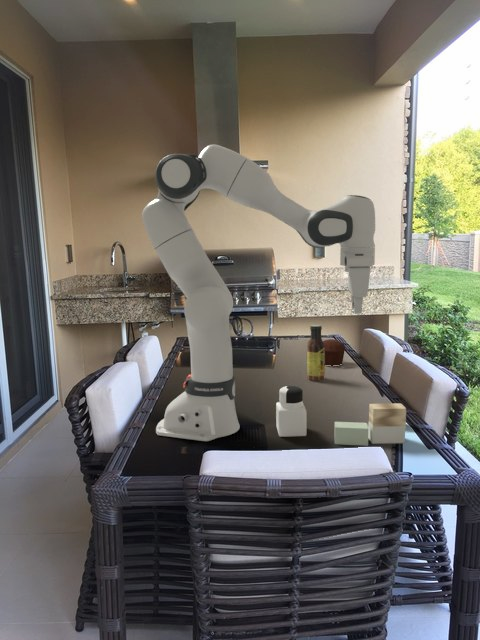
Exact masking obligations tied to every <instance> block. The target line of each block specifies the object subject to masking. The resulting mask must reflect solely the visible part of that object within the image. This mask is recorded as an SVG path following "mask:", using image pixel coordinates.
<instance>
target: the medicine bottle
mask: <svg viewBox="0 0 480 640" xmlns="http://www.w3.org/2000/svg"><path fill="white" fill-rule="evenodd" d="M278 395H279V399H278V400H279V401H277V402H276V404H275V406H276V407H275V410H276V412H275V419H276V421H275V422H276V423H275V424H276V429H277V433H278V437H279V438H281V437H282V438H283V437H284V438H287V437H306V436H307V426H308V425H307V422H308V421H307V417H308V416H307V415H308V413H307V411H308V410H307V409H306V407H305V405H304V403H303V400H304V399H303V396H304V395H303V389H302V388H301V387H299V386H295V385H285V386H282V387H281V388H280V389H279V393H278Z"/></svg>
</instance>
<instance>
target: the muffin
mask: <svg viewBox="0 0 480 640" xmlns="http://www.w3.org/2000/svg"><path fill="white" fill-rule="evenodd" d="M322 341H323V344H324V347H325V365H331V366H333V365H340V364H342V365H343V362H344V358H345V356H344V355H345V351H346V350H347V347H346V345H345V344H344V343H343V342H341V341H339V340H338V339H335V338H333V339H332V338H330V339H325V340H322ZM340 366H341V365H340Z"/></svg>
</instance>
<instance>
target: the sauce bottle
mask: <svg viewBox="0 0 480 640" xmlns="http://www.w3.org/2000/svg"><path fill="white" fill-rule="evenodd" d="M309 327H310V328H309V329H310V339H309V341H308V342H307V353H306V354H307V355H306V356H307V357H306V361H307V362H306V364H307V365H306V366H307V369H306V370H307V373H306V375H307V380H309V381H312V382H320V381H323V380H324V379H325V373H326V371H325V370H326V369H325V367H326V366H325V347H324V344H323V341H324V340H323V339H322V329H323V328H322V325H321V324H311V325H310V326H309Z"/></svg>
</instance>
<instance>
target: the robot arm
mask: <svg viewBox="0 0 480 640" xmlns="http://www.w3.org/2000/svg"><path fill="white" fill-rule="evenodd" d="M154 179H155V184H156V186H157V189H158V193H157V194H158V195H157V197H156V198H155V199H153V200H151V201H150V202H149V203H147V204H146V205H145V207H144V208H143V210H142V213H141V220H142V222H143V223H142V224H143V225H144V228H145V231H146V234H147V236H148V239H149V241H150V242H151V245H152V247H153V249H154V250H155V252H156V254H157V257H158V258H159V260H160V262H161V264H162V265H163V267H164V269H165V270H166V272H167V274H168V276H169V278H170V279H171V280H172V281H173V282H174V283H175V284H176V285H177V287H178V288H179V290H180V291H181V292H182V293H183V295H184V296H185V297H186V299H185V303H184V308H183V311H184V318H185V324H186V332H187V337H188V344H189V352H190V372H191V373H190V374H188V376H186V379H185V380H184V381H183V382H184V383H183V384H182V385H183V386H182V387H183V389H184V391H183V392H182V393H181V394H179V395H178V396H177V397H176V398H174V399H173V400H172V401H170V403H169V404H168V405H167V407H166V408H165V412H164V418H163V419H161V420H160V421H159V422H158V423H157V425H156V427H155V433H156V434H157V436H162V437H170V438H177V439H185V440H193V441H199V442H200V441H201V442H209V441H210V442H211V441H212V440H215V439H218V438H222V437H227V436H230V435H232V434H235V433H237V432H238V431H239V430H240V423H239V420H238V416H237V411H236V405H235V396H236V383H235V376H234V375H233V373H234V372H233V370H234V369H233V346H232V340H231V339H232V338H231V330H230V314H231V313H232V312H233V308H234V298H233V296H232V293H231V292H230V290H229V288H228V286H227V284H226V283H225V282H224V280H223V278H222V277H221V275H220V274H219V271H218V270H217V269H216V268H215V266H214V264H213V263H212V261H211V260H210V259H209V257H208V255H207V253H206V252H205V249H204V248H203V245H202V244H201V242H200V241H199V239H198V237H197V235H196V232H195V231H194V230H193V228H192V225H191V224H190V223H189V221H188V218H187V216H186V213H185V211H186V210H187V209H189V208H190V206H191V205H192V204H194V203H195V201H196V199H198V197H199V195H200V192H201V190H205V189H208V190H213V191H216V192H217V193H219V194H220V195H222V196H224V197H226V198H227V199H229V200H231V201H234V202H235V203H238V204H240V205H242V206H245V207H248V208H251V209H254V210H258V211H261V212H263V213H266V214H269V215H271V216H273V217H274V218H276V219H277V220H279V221H281V222H282V223H284V224H286V225H288V226H289V227H291V228H292V229H294V230H295V231H296V232H297V233H298V234H299V235H300V237H301V239H302V240H303V242H305V243H306V245H308V246H310V247H312V248H316V249H321V248H325V247H331V246H334V245H336V244H339V245H340V252H339V254H340V261H339V262H340V266H343V267H344V269H345V270H344V271H345V272H346V273H347V288H348V292H350V294H351V308H352V309H353V311H354V312H353V313H355V314H357V315H359V314H362V310H363V301H364V298H367V296H368V293H369V288H370V287H369V286H370V276H371V267H373V266H375V262H376V260H375V259H376V253H375V252H376V245H375V241H374V237H375V234H376V233H375V232H376V210H375V204H374V201H372V200H371V199H370V198H368V197H367V196H362V195H356V194H349V195H344V197H342V199H340V200H338V201H337V202H335V203H334V204H331V205H329V206H327V207H324V208H321V209H319V210H312V209H308V208H306V207H304V206H302V205H301V204H299V203H297V202H296V201H295V200H293V199H291V198H289V197H288V196H286V195H285V194H283V193H282V192H281V191H280V190H279V189H278V188H277V186H276V185H275V182H274V181H273V179H272V177H271V176H270V174H269V173H268V172H267V171H266V170H265V169H264V168H263V167H262V166H260V165H259V164H258V163H256V162H255V161H253V160H252V159H250V158H248V157H246V156H244V155H243V154H241V153H238V152H236V151H235V150H232V149H230V148H227V147H224V146H222V145H220V144H209V145H207V146H206V147H204V148H203V149H202V151H201V152H200V153H199V154H196V153H191V154H190V153H187V154H186V153H185V154H184V153H172V154H168V155H167V156H165V157H163V158H162V159H161V160H159V162H158V164H157V166H156V169H155V172H154Z"/></svg>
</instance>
